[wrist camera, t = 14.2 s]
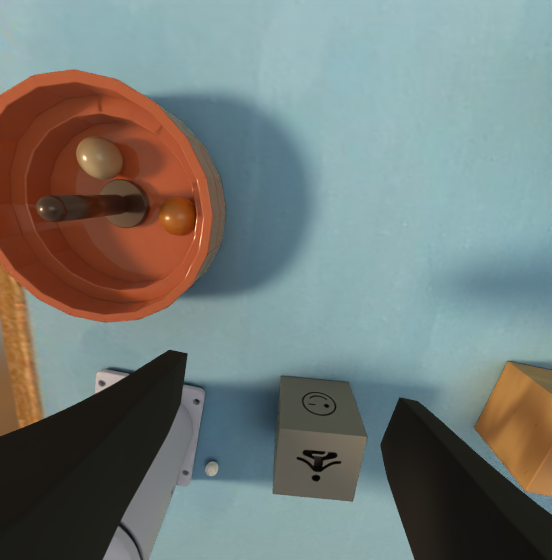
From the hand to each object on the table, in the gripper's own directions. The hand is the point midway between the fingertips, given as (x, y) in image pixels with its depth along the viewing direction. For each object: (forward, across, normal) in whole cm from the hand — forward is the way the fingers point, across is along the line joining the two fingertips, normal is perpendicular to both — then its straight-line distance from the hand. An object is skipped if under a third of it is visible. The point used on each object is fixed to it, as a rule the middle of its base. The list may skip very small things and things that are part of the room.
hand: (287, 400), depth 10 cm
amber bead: (+8, +7, -4) cm, 11 cm away
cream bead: (+9, +13, -6) cm, 17 cm away
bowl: (+10, +11, -4) cm, 15 cm away
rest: (+10, -19, +4) cm, 22 cm away
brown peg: (+10, +11, -4) cm, 15 cm away
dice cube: (+10, -4, +8) cm, 14 cm away
